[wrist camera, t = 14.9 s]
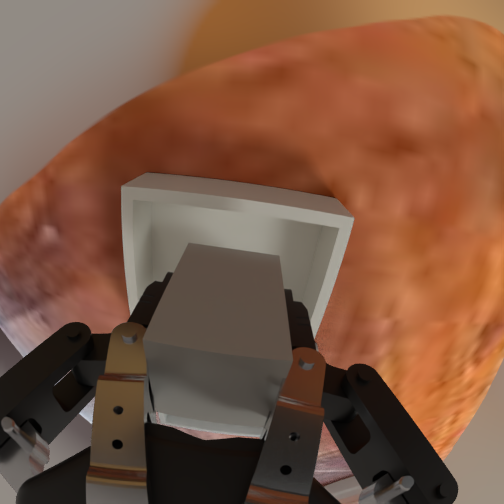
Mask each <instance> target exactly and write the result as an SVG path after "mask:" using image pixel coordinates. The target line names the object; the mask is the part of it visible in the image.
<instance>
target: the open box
mask: <svg viewBox="0 0 504 504" xmlns="http://www.w3.org/2000/svg"><path fill="white" fill-rule="evenodd" d="M121 212H122V237H123V253H124V265H125V276H126V285H127V294H128V302H129V309H130V316H131V314H132V312H133V310H134V309H135V307H136V305H137V303H138V301H139V300H140V298H141V296H142V295H143V293H144V291H145V289H146V287H147V286H148V285H150V284H151V283H153V282H154V281H159V282H163V280H164V278H165V276H166V274H167V272H173V273H174V271H175V269H176V267H177V265H178V263H179V261H180V259H181V257H182V255H183V253H184V251H185V249H186V247H187V245H188V243H195V244H202V245H209V246H216V247H223V248H230V249H237V250H244V251H251V252H258V253H265V254H272V255H279V257H280V264H281V271H282V278H283V285H284V289H291V290H292V295H293V301H298V302H302V303H303V305H304V306H305V307H306V308H307V310H308V314H309V320H310V323H311V327H312V332H313V337H314V338H315V336H316V333H317V331H318V328H319V325H320V323H321V320H322V317H323V315H324V312H325V309H326V307H327V304H328V301H329V298H330V295H331V292H332V289H333V287H334V284H335V281H336V278H337V275H338V272H339V268H340V265H341V262H342V259H343V256H344V253H345V249H346V246H347V243H348V239H349V236H350V233H351V229H352V226H353V222H354V217H353V216H352V215H351V214H350V212H349V211H348V210H347V209H346V208H345V207H344V206H343V205H342V204H341V203H340V202H339V201H338V200H337V199H336V198H332V197H327V196H322V195H316V194H311V193H305V192H300V191H294V190H288V189H282V188H276V187H270V186H263V185H256V184H249V183H242V182H235V181H227V180H219V179H211V178H202V177H193V176H183V175H173V174H161V173H149V172H146V173H144V174H143V175H141V176H139V177H137V178H135V179H133V180H131V181H130V182H128V183H126V184H124V185H122V186H121Z"/></svg>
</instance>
